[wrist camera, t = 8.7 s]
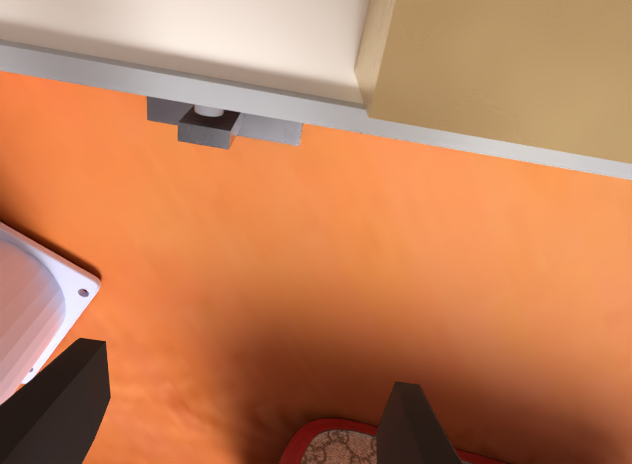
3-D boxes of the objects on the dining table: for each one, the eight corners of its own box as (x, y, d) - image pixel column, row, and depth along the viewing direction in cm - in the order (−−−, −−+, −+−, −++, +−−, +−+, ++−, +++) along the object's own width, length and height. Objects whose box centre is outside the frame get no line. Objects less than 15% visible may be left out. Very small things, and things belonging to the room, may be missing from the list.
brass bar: (353, 72, 13) (368, 117, 9) (399, -147, 11) (444, -208, 7) (598, 116, 14) (707, 177, 10) (696, -80, 11) (892, -101, 7)
